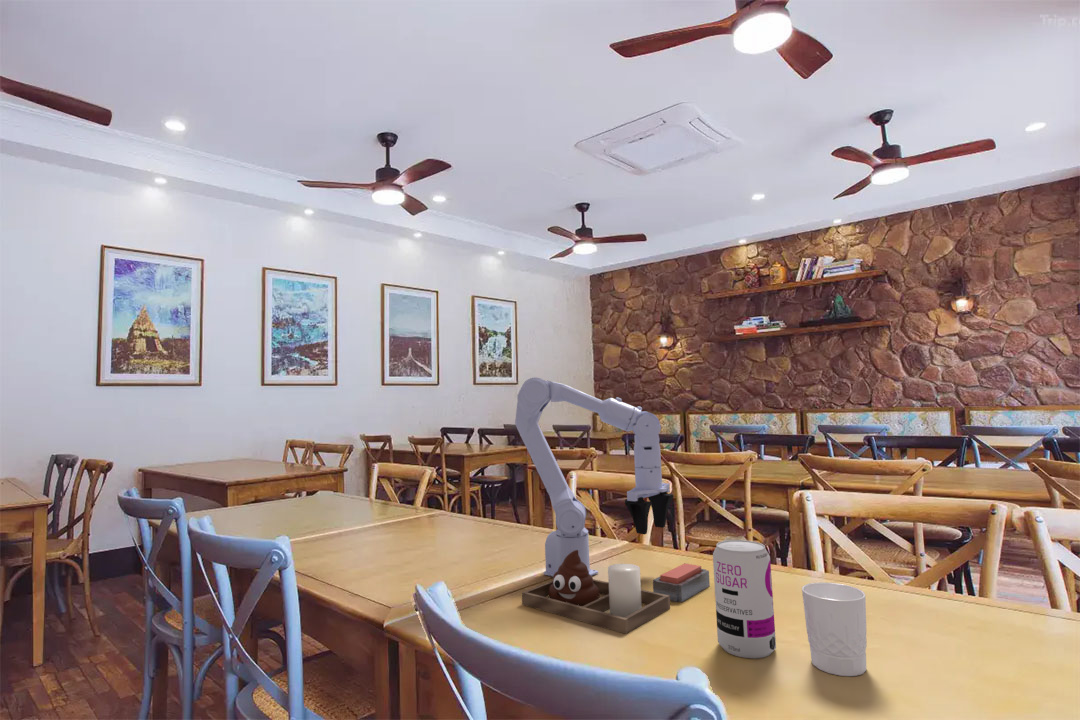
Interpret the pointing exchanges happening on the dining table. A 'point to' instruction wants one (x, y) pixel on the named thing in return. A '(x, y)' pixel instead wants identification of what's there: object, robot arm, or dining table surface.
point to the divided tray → (598, 607)
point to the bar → (680, 573)
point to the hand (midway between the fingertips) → (651, 530)
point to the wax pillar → (624, 589)
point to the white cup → (836, 627)
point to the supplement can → (744, 598)
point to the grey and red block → (683, 586)
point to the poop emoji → (573, 582)
